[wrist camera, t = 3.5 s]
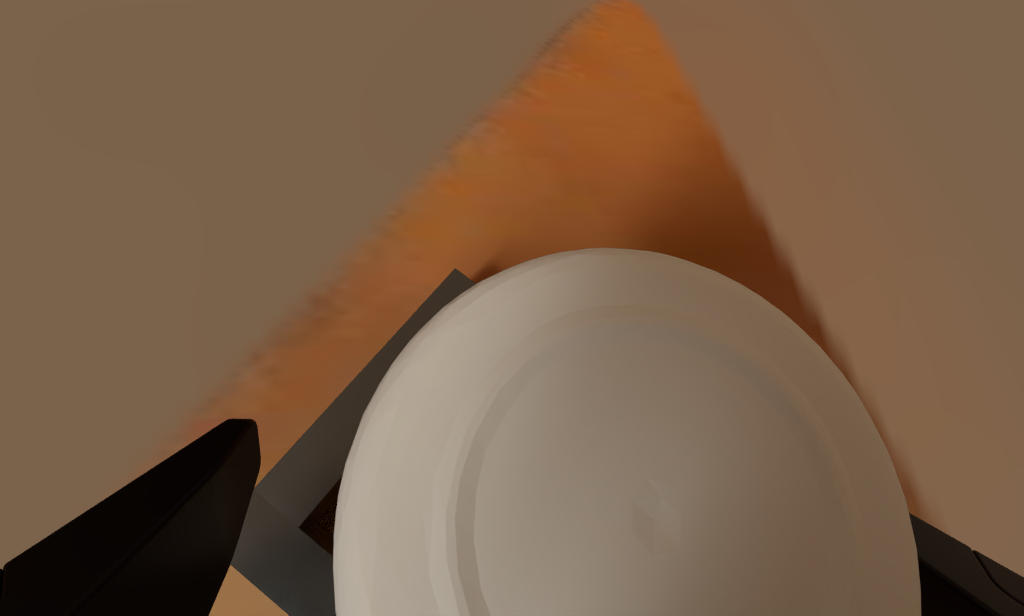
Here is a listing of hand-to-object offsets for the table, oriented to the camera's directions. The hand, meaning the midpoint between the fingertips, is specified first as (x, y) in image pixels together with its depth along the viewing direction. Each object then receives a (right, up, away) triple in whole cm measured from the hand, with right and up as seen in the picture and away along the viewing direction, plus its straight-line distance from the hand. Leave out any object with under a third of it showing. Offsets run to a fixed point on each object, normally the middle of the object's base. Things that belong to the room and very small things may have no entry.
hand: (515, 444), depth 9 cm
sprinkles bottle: (-1, -4, +7) cm, 8 cm away
